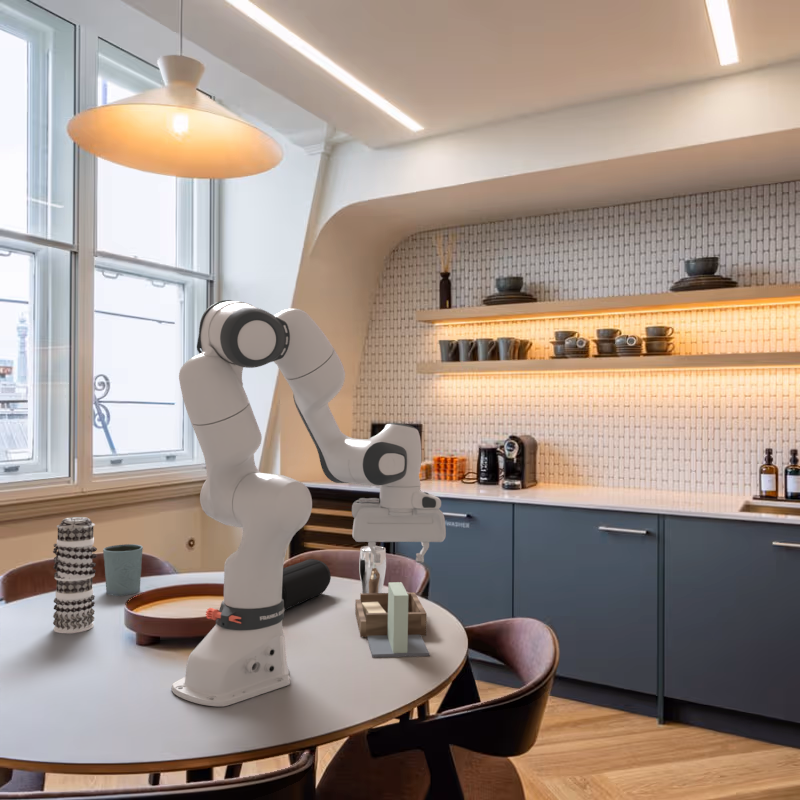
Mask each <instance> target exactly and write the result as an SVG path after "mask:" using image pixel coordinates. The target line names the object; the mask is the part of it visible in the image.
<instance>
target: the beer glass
mask: <svg viewBox="0 0 800 800" xmlns="http://www.w3.org/2000/svg"><path fill="white" fill-rule="evenodd" d="M373 548H374V550H375V552H376V553H380V555H381V558H380V563H373V553H372V551H371V549H370V548H369V546H368V545H366V546H365V545H364V546H361V547H360V549H359V550H360V551H359V559H358V561H359V565H358V567H359V568H358V569H359V578H360V583H361V584H360V585H361V593H383V588H384V583H385V577H386V570H387V555H386V553H387V552H386V547H384V546H380V545H379V546H378V545H376V546H375V547H373Z"/></svg>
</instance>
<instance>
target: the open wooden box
mask: <svg viewBox="0 0 800 800" xmlns="http://www.w3.org/2000/svg"><path fill="white" fill-rule="evenodd" d="M407 594H408V635H419V634H420V635H421V637H422V636H427V618H428V617H427V616H428V615H427V612H426V610H425V608H424V607H423V605H422V603H421V601H420V599H419V598H418V595H417V593H416V592H407ZM359 595H360V599H359V598H358V599H355V604H354V605H355V609H354V610H355V618H356V623H357V628H358V633H359V635H360V638H367V636H375V635H387V632H388V592H382V593H362V592H361V593H360V594H359ZM362 602H378V603H379V604H380V605H381V607H382V608H383V609H384V611H385V612H386V613H366V619H365V615H364V611H363V608H362Z"/></svg>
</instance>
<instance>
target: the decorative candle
mask: <svg viewBox="0 0 800 800" xmlns="http://www.w3.org/2000/svg"><path fill="white" fill-rule="evenodd" d="M94 526H96V523H93V522H92V520H91V519H90V518H88V517H86V516H73V517H66V518H63V519H62V520H61V522H60V523H59V524H58V525H56V528H57V539H56V543H54V544H53V547H54V548H53V550H52V553H53V554H55V557H54V558H53V562H54V564H53V569H54V570H55V572H54V576H53V577H54V579H55V580H56V589H55V598H54V600H53V603H54V604H55V605H54V607H53V610H55V611H54V613H53V616H52V617H53V618H54V620H53V622H52V624H53V626H54V627H53V631H54V632H55V633H58V634H78V633H83V632H86V631H88V630H91V629H93V628H94V621H95V616H94V615H95V609H93V607H94V606H95V602H94V600H95V597H96V596H95V594H94V586H93V578H94V577H95V575H96V574H95V573H96V572H97V571H96V569H94V567H96V565H97V564H96V562H94V561H93V559H96V558H97V556H98V555H97V554H96V553H95V552H96V551H97V550H98V548H97V547H95V546H94V543H95V536H94Z"/></svg>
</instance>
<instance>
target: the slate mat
mask: <svg viewBox="0 0 800 800" xmlns="http://www.w3.org/2000/svg"><path fill="white" fill-rule="evenodd" d="M366 638H367V641H368V642H367V643H368V646H369V650H370V654H371V657H372V658H394V657H395V658H397V657H428V656H429V657H430V651H429V649H428V648H427V645H426V643H425V641H424V639H423V637H422V636H421V635H420V634H419V635H408V646H407V653H393V651H392V648H391V645H390V642H389V639H388V636H387V635H375V636H367V637H366Z"/></svg>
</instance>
